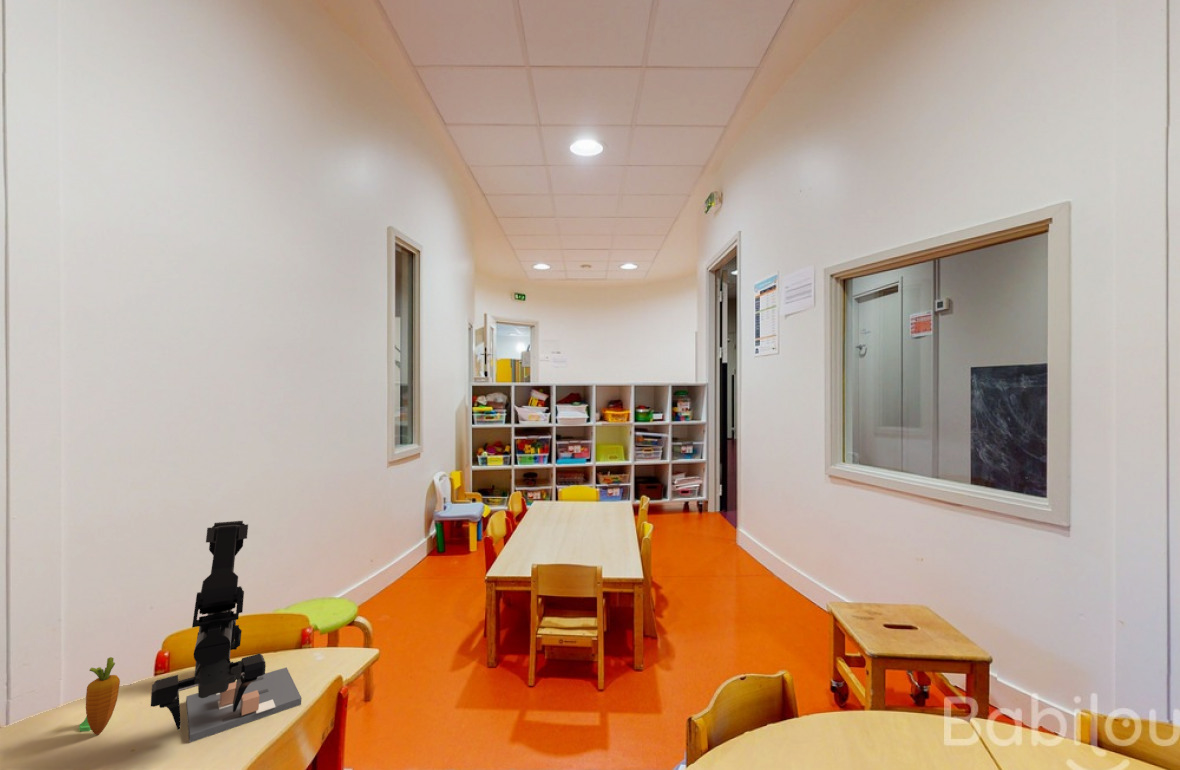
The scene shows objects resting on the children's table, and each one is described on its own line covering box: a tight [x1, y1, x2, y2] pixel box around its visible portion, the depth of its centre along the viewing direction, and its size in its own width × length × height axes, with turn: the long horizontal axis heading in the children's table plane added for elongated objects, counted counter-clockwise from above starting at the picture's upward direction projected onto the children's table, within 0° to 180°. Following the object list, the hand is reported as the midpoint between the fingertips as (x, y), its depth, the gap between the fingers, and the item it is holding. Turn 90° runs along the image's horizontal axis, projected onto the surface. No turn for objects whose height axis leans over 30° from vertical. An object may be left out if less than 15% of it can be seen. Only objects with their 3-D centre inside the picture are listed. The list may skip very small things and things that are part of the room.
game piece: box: [78, 715, 92, 732], centre depth 99 cm, size 4×4×6 cm
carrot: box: [85, 656, 121, 736], centre depth 97 cm, size 5×5×15 cm
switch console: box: [185, 667, 302, 743], centre depth 108 cm, size 18×20×2 cm
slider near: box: [240, 690, 260, 715], centre depth 103 cm, size 3×3×3 cm
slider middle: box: [220, 681, 237, 706], centre depth 106 cm, size 3×3×3 cm
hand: (207, 719), depth 98 cm, fingers open, 9 cm apart
